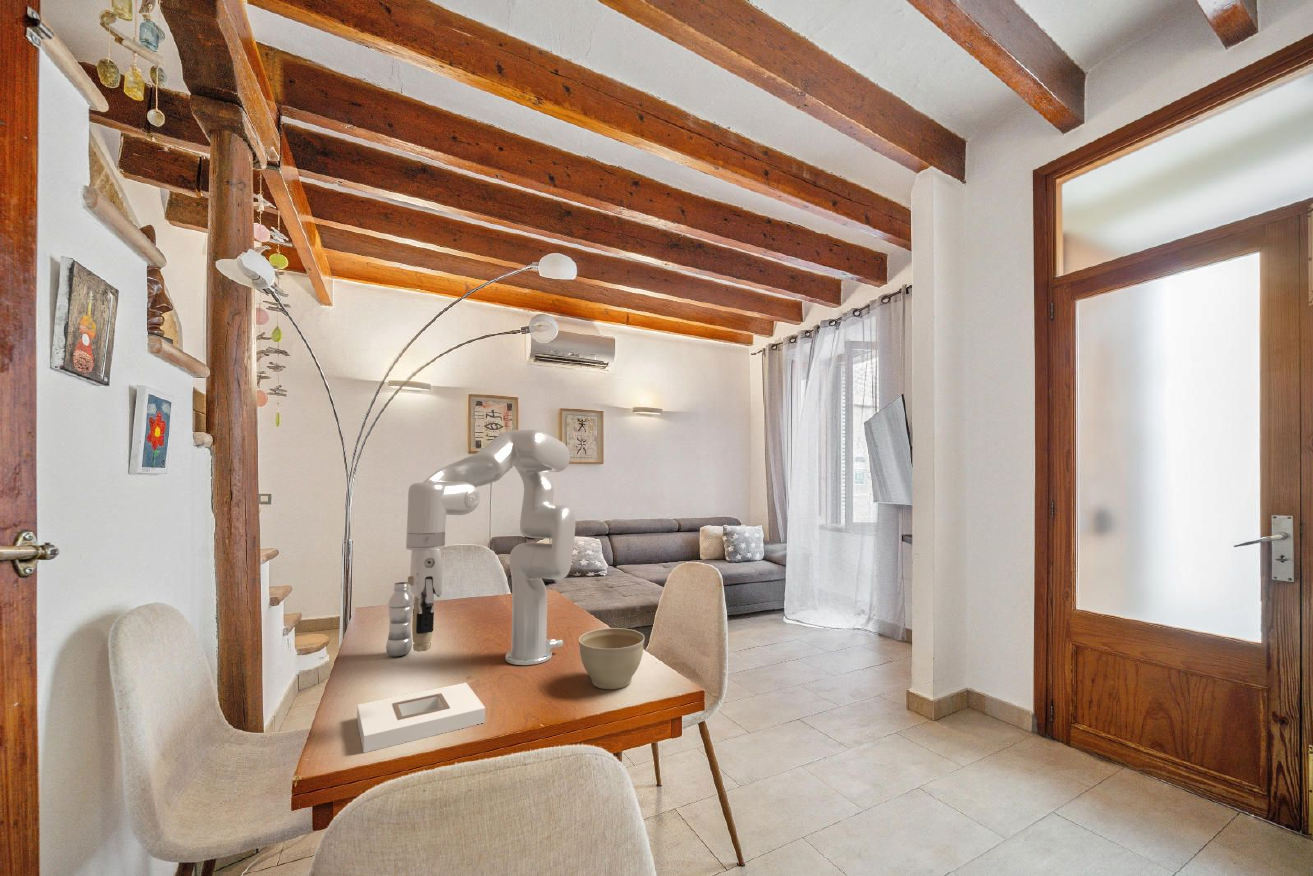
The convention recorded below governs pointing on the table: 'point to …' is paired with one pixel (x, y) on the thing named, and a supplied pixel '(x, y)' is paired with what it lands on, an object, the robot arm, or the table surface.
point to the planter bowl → (611, 656)
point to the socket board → (418, 716)
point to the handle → (421, 639)
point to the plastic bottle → (400, 621)
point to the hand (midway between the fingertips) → (422, 628)
